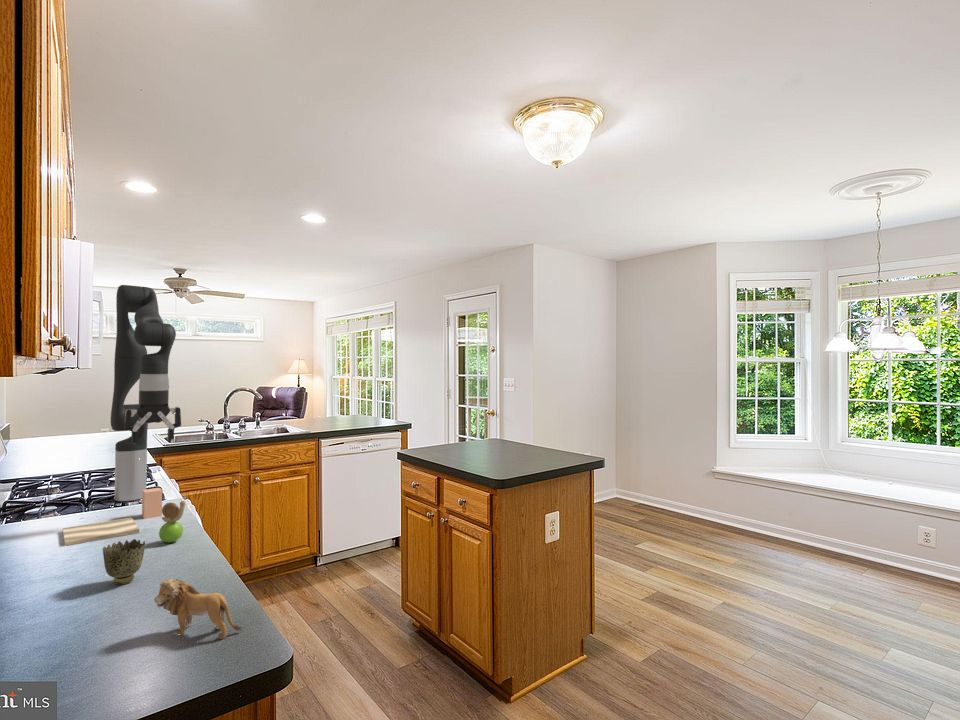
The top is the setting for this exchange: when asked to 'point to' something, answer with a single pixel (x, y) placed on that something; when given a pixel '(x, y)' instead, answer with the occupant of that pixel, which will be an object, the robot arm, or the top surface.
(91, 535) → the birch board
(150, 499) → the terracotta block
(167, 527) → the snail figurine
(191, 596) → the lion figurine
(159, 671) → the top surface
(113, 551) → the cup
